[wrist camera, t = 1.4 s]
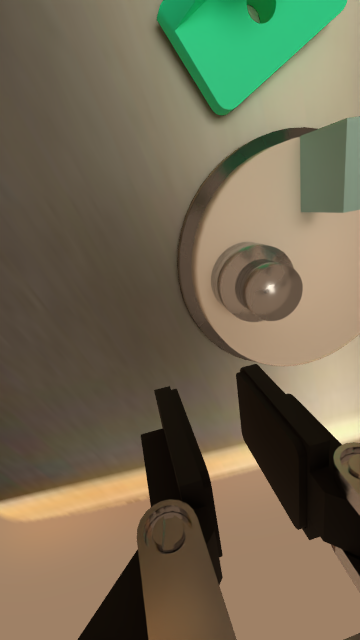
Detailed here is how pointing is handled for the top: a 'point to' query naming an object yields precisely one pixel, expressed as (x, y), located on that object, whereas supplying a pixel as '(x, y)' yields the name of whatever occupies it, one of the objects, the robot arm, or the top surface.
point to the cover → (256, 282)
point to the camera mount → (240, 41)
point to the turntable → (291, 242)
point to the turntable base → (196, 213)
